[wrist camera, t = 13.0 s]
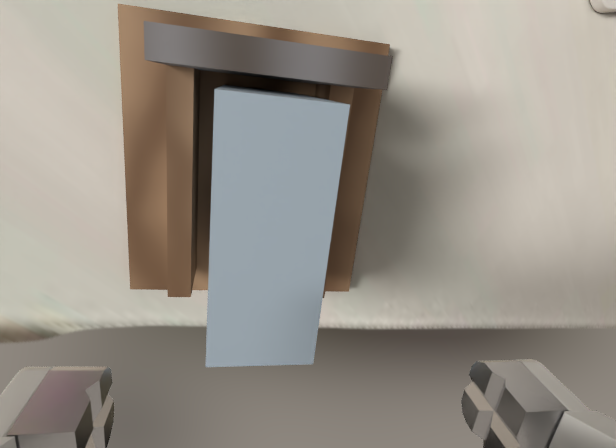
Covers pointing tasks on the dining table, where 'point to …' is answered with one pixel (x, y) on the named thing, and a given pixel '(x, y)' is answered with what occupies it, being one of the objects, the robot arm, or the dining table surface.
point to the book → (270, 223)
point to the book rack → (199, 129)
